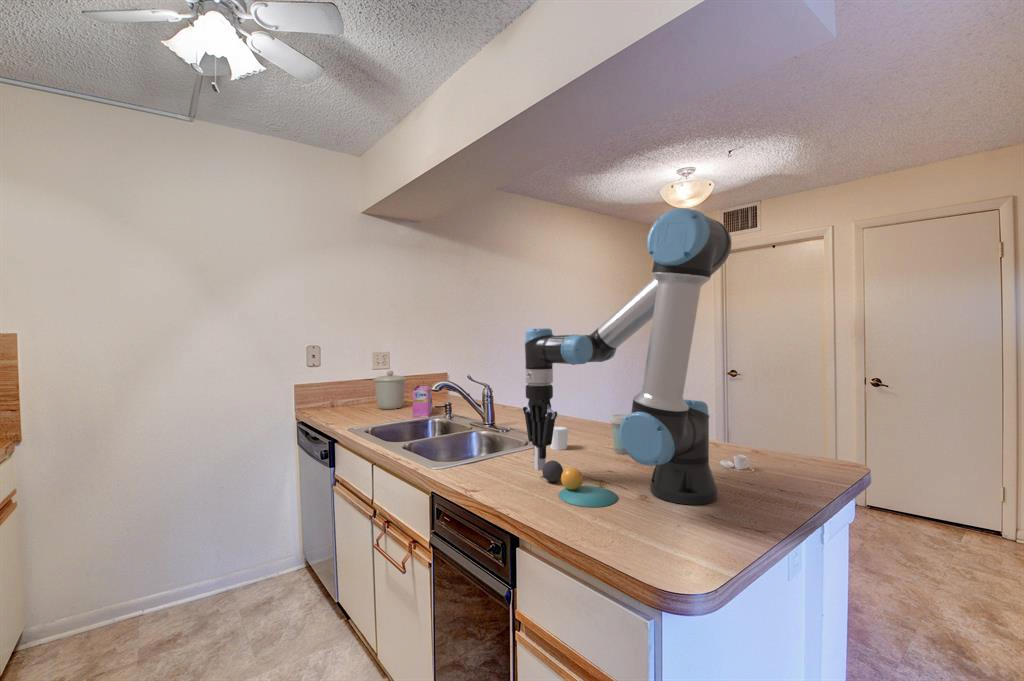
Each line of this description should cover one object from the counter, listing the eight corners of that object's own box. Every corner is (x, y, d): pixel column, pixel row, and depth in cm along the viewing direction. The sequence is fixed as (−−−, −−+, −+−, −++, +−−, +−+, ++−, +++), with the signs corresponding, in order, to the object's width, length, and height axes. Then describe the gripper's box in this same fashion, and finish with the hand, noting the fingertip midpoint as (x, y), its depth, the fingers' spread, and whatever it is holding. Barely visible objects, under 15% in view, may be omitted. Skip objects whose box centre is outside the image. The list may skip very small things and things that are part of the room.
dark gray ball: (552, 461, 121) (557, 481, 119) (536, 464, 118) (541, 485, 116) (563, 456, 117) (569, 477, 115) (547, 460, 114) (553, 481, 112)
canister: (388, 411, 232) (388, 372, 232) (366, 409, 242) (366, 371, 242) (413, 407, 247) (413, 370, 247) (391, 404, 257) (391, 369, 257)
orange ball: (579, 491, 112) (590, 481, 108) (563, 496, 109) (574, 485, 105) (570, 472, 115) (580, 461, 111) (553, 476, 112) (563, 465, 108)
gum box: (418, 409, 239) (417, 385, 239) (432, 409, 239) (432, 384, 239) (412, 417, 215) (412, 390, 215) (428, 417, 216) (428, 389, 216)
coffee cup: (633, 457, 140) (632, 419, 140) (607, 453, 144) (606, 417, 144) (640, 451, 147) (640, 415, 147) (615, 447, 151) (615, 413, 151)
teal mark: (630, 498, 103) (630, 497, 103) (586, 512, 96) (586, 511, 96) (588, 482, 115) (588, 482, 115) (546, 493, 107) (546, 492, 107)
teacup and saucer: (716, 467, 129) (715, 453, 129) (737, 464, 132) (737, 450, 132) (739, 475, 121) (739, 461, 121) (762, 472, 123) (762, 458, 123)
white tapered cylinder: (567, 451, 148) (567, 430, 148) (547, 450, 149) (547, 429, 149) (569, 446, 155) (569, 426, 155) (549, 445, 156) (549, 425, 156)
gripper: (514, 383, 124) (515, 466, 125) (542, 387, 114) (543, 477, 114) (535, 381, 129) (536, 461, 129) (564, 385, 118) (565, 472, 118)
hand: (540, 469), depth 121 cm, fingers closed
